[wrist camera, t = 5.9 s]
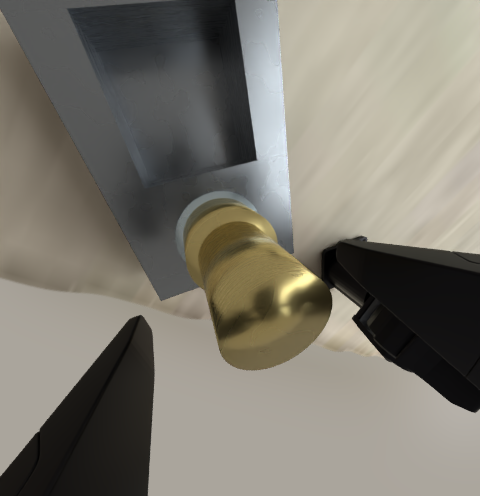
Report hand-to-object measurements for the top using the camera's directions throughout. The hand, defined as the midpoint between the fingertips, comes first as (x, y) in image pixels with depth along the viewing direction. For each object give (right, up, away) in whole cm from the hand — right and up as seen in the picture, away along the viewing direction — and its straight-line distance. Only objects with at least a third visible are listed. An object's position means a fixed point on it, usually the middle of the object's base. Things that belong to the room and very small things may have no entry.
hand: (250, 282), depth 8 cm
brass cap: (-2, +2, +5) cm, 6 cm away
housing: (-4, +8, +7) cm, 12 cm away
